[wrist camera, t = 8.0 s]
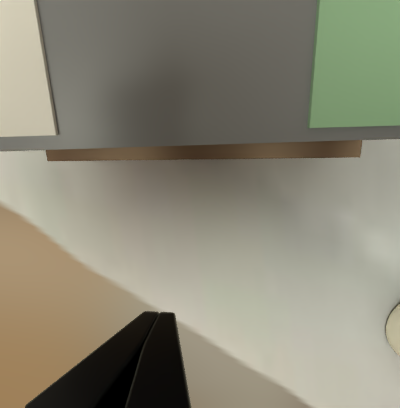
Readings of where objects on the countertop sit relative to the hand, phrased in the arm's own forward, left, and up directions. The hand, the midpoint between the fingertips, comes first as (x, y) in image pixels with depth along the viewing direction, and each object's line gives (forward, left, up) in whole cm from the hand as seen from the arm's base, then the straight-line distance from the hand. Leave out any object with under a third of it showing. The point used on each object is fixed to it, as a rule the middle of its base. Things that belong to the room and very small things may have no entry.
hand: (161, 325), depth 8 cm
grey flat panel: (0, -8, -6) cm, 10 cm away
